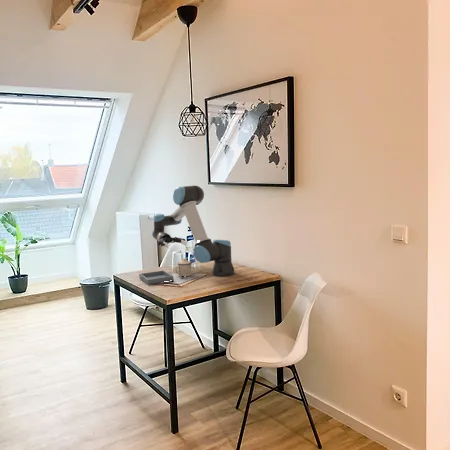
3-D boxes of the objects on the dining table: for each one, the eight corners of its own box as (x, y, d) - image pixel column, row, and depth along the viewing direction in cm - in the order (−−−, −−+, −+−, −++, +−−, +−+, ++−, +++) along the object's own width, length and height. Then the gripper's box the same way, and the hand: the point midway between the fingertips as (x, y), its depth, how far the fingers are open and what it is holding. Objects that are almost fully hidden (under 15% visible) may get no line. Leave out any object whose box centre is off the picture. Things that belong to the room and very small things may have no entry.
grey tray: (163, 275, 324) (163, 270, 323) (173, 281, 306) (173, 276, 305) (139, 278, 317) (139, 273, 316) (147, 285, 299) (147, 279, 298)
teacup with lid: (187, 273, 326) (186, 256, 325) (194, 275, 319) (193, 258, 318) (172, 276, 319) (171, 259, 317) (179, 278, 312) (178, 261, 310)
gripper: (180, 241, 348) (193, 248, 330) (147, 244, 336) (159, 252, 318) (180, 231, 346) (193, 237, 328) (147, 234, 334) (159, 241, 316)
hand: (176, 244), depth 323 cm, fingers open, 13 cm apart
